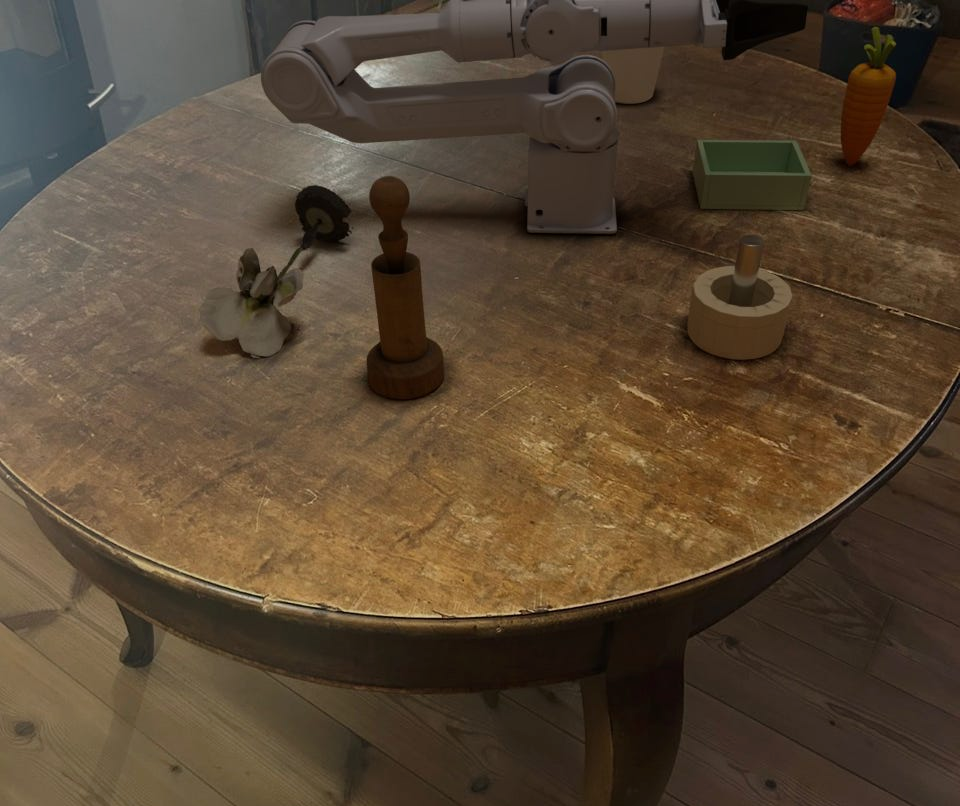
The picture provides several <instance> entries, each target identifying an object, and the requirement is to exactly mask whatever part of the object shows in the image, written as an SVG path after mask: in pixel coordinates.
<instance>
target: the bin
mask: <svg viewBox="0 0 960 806" xmlns="http://www.w3.org/2000/svg"><path fill="white" fill-rule="evenodd" d="M693 159H694V160H693V167H692V178H693V181H694V182H693V183H694V186H695V191H696V195H697V199H698V200H697V201H698V204H699V208H700V210H748V211H749V210H751V211H752V210H753V211H754V210H757V211H758V210H759V211H760V210H762V211H765V210H766V211H805V206H806V203H807V199H808V193H809V189H810V186H811V180H812V177H813V176H812V173H811V171H810V168H809V166H808V163H807V162H806V159H805V157H804V154H803V152H802V149H801V147H800V145H799V142H798V141H797V140H795V139H794V140H793V139H792V140H791V139H790V140H789V139H788V140H778V139H777V140H776V139H775V140H774V139H773V140H771V139H770V140H769V139H767V140H764V139H697V140H696V145H695V151H694V158H693Z"/></svg>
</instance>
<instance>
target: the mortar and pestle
mask: <svg viewBox="0 0 960 806" xmlns="http://www.w3.org/2000/svg"><path fill="white" fill-rule="evenodd" d="M369 189H370V190H369V193H368V200H369V205H370V208H372V210H373V212H374V213H375V214H376V216H377V218H379V220H380V221H381V225H382V226H383V228H382V229H383V230H382V231H381V232H379V234H378V235H377V238H378V243H379V245H380V248H381V250H382V253H381V254H379V255H377V256H376V257H375V258H373V259H372V260H371V265H370V267H371V275H372V276H371V277H372V284H373V292H374V301H375V309H376V317H377V326H378V335H379V342H378V343H376V344H375V345H374V346H373V347H371V349H370V350H369V351H368V352H367V355H366V368H367V377H368V383H369V385H370V387H371V389H372V390H373V391H374V392H375V393H377V394H379V395H380V396H383V397H386V398H390V399H395V400H410V399H416V398H420V397H424V396H426V395H428V394H429V393H431V392H433V391H434V390H436V389H437V388H438V387H439V386H440V385H441V384H442V383H443V380H444V378H445V363H444V352H443V350H442V347H441V346H440V344H439V343H438V342H436V341H435V340H433V339H432V338H429V337H427V329H426V320H425V319H426V318H425V308H424V296H423V294H424V293H423V281H422V268H421V259H420V258H419V257H418V256H417V255H415V254H414V253H411V252H408V251H407V249H408V243H409V234H408V232H407V230H405V229H404V228H403V224H402V223H403V222H402V220H403V218H404V216H405V215H406V213H407V210H408V208H409V206H410V202H411V195H410V191H409V188H408V186H407V184H406V183H405V182H404V181H403V180H402V179H400V178H398V177H397V176H392V175H385V176H382V177H379V178H378V179H376V180H375V181H374V182H373V183H372V185H371V187H370V188H369Z"/></svg>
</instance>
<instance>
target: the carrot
mask: <svg viewBox="0 0 960 806" xmlns="http://www.w3.org/2000/svg"><path fill="white" fill-rule="evenodd" d="M870 31H871V38H872V42H873V45H872V44H869V43H868V44H865V45H863V49H864V50H865V53H866V55H867V57H868V59H869V61H870V62H862V63H859V64H858V65H857V66H856V67H854V69H852V70H851V71H850V74H849V75H848V78H847V83H846V84H847V85H846V89H845V92H844V98H843V104H842V108H841V116H840V117H841V119H840V143H841V150H842V151H841V152H842V155H843V157H844V161H845V163H846V164H847V166H848V167H852V166H854V165H855V164H856V163H857V162H858V161H859V159H860V158H861V157H862V156H863V155H864V153H865V152H866V151H867V150H868V148H869V147H870V145H871V143H872V142H873V141H874V138H875V136H876V134H877V132H878V131H879V129H880V126H881V124H882V122H883V119H884V117H885V116H886V112H887V110H888V107H889V103H890V100H891V97H892V93H893V90H894V87H895V85H896V79H897V72H895V70H894V69H893V68H891V67H890V66H888V64H885V62H886V60H887V58H888V57H889V55H890V54H891V52H892V50H893V49H894V48H895V47H896V45H897V43H896V41H894V40H893V39H894V37H893V36H892V35H891V34H886V35H885V39H884V44H883V47H882V37H881V32H880V27H877V26H874V27H872V28H871V29H870ZM882 48H883V49H882Z"/></svg>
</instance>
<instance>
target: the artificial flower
mask: <svg viewBox="0 0 960 806" xmlns="http://www.w3.org/2000/svg"><path fill="white" fill-rule="evenodd" d="M295 198H296V199H295V202H294V209H295V212H296V215H297V216H298V221H299V223H300V225H301V226H302V227H301V229H302V231H303V232H304V234H303V235H302V239H301V244H300V246H299V247H297V248H296V250H295V251H294V252H293V253H292V256H291V257H290V259H289V261H288V262H287V264H286V265H285V266H284V267H283V268H282V269H281V271H280V272H279V273H278V272H277V269H276V268H275V266H274V265H272V266H269V267H268V268H266V270H263V271H261V265H260V259H259V256H258V253H256V250H254V247H248V248H246V249H244V251H243V253H242V255H241V256H240V257H239V258H238V264H237V271H236V282H237V285H238V289H239V291H235V290H234V289H233V288H231V287H226V286H221V287H220V286H218V287H215V288H212V289H210V290H209V291H208V292H207V293H206V297H205V299H204V301H203V302H202V303H201V305H200V306H199V308H198V309H199V318H200V321H201V324H202V326H203V327H204V328H205V330H206V331H207V332H208V333H209V334H210V335H211V336H212V337H213V338H214V339H216V340H218V341H221V342H223V341H232V340H234V339H237V340H238V342H239V345H240V347H241V349H242V351H243V352H246V353H247V354H250V357H252V358H253V359H261V357H272V356H274V355H275V354H277V353H278V352H279V351H281V349H282V347H283V345H284V340H286V338H287V337H288V336H289V335H290V333H291V330H292V327H291V322H290V320H289V319H288V317H287V316H285V315H283V314H282V313H281V312H280V310H278V308H279V307H282V306H284V305H287V304H288V303H290V302H291V301H292V300H294V299H295V297H296V295H297V293H299V292H300V291H302V290H303V287H304V285H303V284H304V277H305V276H304V272H303V270H302V269H300V268H298V267H297V268H293V269H290V267H291V266H292V265H293V263H294V262H295V260H296V259H297V258H298V257H299V255H300V254H301V253H302V252H304V251H306V250H307V249H309V248H311V246H312V244H313V243H314V241H318V242H319V241H321V240H323V241H325V242H333V243H338V242H339V241H342V240H344V239H345V238H346V237H347V238H349V236H350V234H353V231H352V230H354V227H353V226H352V227H351V229H352V230H350V224H349V222H347V221H344V219H348V218H349V216H350V215H351V213H352V210H351V208H350V206H349V204H347V202H346V201H345V200H344V198H342V197H341V196H340V195H339V194H337V193H336V192H335V191H333V190H331V189H330V188H327V187H325V186H323V185H307V186H305V187H302V189H301V191H298V193H297V195H296V197H295ZM290 248H292V245H290ZM289 269H290V270H289ZM274 300H275V303H276V305H277V307H278V308H276V305H274Z"/></svg>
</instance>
